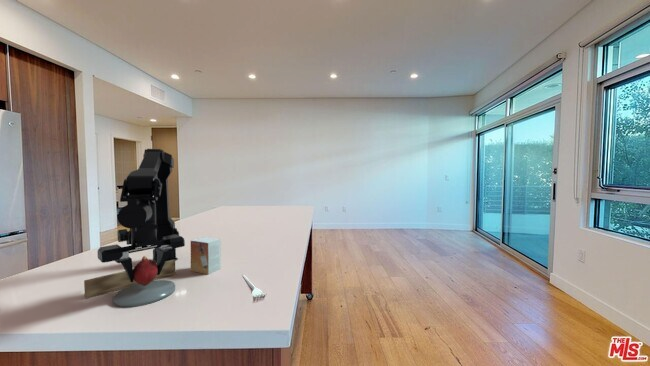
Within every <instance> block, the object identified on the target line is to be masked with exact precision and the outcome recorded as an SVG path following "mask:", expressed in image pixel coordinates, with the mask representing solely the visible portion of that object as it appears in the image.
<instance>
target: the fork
mask: <svg viewBox="0 0 650 366" xmlns="http://www.w3.org/2000/svg"><path fill="white" fill-rule="evenodd" d="M241 276H242V277H243V278H244V280H245V281H246V283H247V284H248V286H249V287H250V289H252V292H251V296H252V297H253V298H260V297H263V296H267V295H268V293H264V292H263V291H262V290H261V289H259V288H258V287H256V286H255V285H254V283H253V282H252V281H251V280H250V279H249V278H248V277H247V276H246V275H245V274H242V275H241Z"/></svg>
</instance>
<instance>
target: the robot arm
mask: <svg viewBox="0 0 650 366" xmlns="http://www.w3.org/2000/svg"><path fill="white" fill-rule="evenodd" d="M174 160H175V159H174V157H173V155H172V154H170V153H168V152H165V150H163V149H161V148H146V149H144V153H143V159H142V160H141V162H140V165H139V166H138V169H135V170H133V171H131V172H130V173H128V175H127V176H126V178H125V179H124V180H123V184H122V189H121V193H120V197H119V202H121V203H125V202H126V203H127V204H126V205H124V206H123V207H121V208H120V209H119V211H118V213H117V221H118V223H119V225H121V226H122V227H124V228H121V229H118V230H117V242H118V243H122V242H125V243H126V245H128V246H120V245H119V244H117V243H116V244H111V245H105V246H100V247H99V248H98V249H97V259H98V261H100V262H101V263H109V262H115V263H116V264H121V266H122V267H123V269H124V271H126V273H127V275H128V277H129V280H130V281H131V282H133V278H134V276H133V269H134V267H133V260H132V259H133V258H131V257H130V254H132V253H138V252H142V251H148V250H152V261H153V262H154V263H155V264H156V265H157V268H158V272H157V275H160V272H161V270H162V268H163V266H164V264H165V261H170V260H175V261H177V260H178V259H179V258H178V257H177V252H176V251H177V249H179V248H182V247H185V246H186V245H185V244H186V243H185V238H184V237H183V236H181V235H180V232H179V230H178V228H177V227H176V223H175V221H174V220H173V219H172V217H171V216H170V201H169V200H170V199H169V198H170V196H169V177H170V176H171V174H172V172H173V168H174V166H175V161H174ZM128 229H129V230H128Z"/></svg>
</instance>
